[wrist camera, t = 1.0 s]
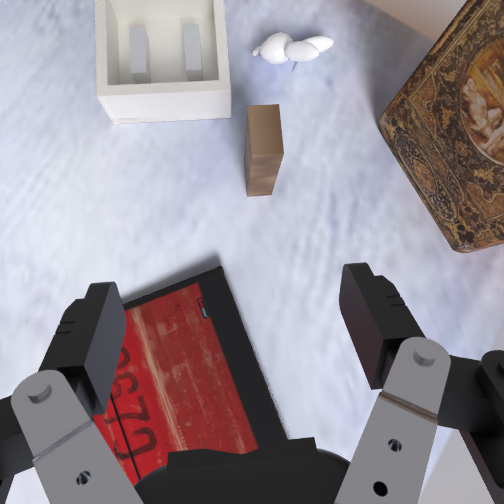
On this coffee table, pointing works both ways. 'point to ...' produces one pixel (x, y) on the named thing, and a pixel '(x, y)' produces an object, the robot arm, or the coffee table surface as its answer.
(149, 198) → the coffee table surface
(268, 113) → the brown rectangular block
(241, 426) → the binder
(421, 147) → the book
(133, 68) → the white square tray
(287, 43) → the rabbit figurine
